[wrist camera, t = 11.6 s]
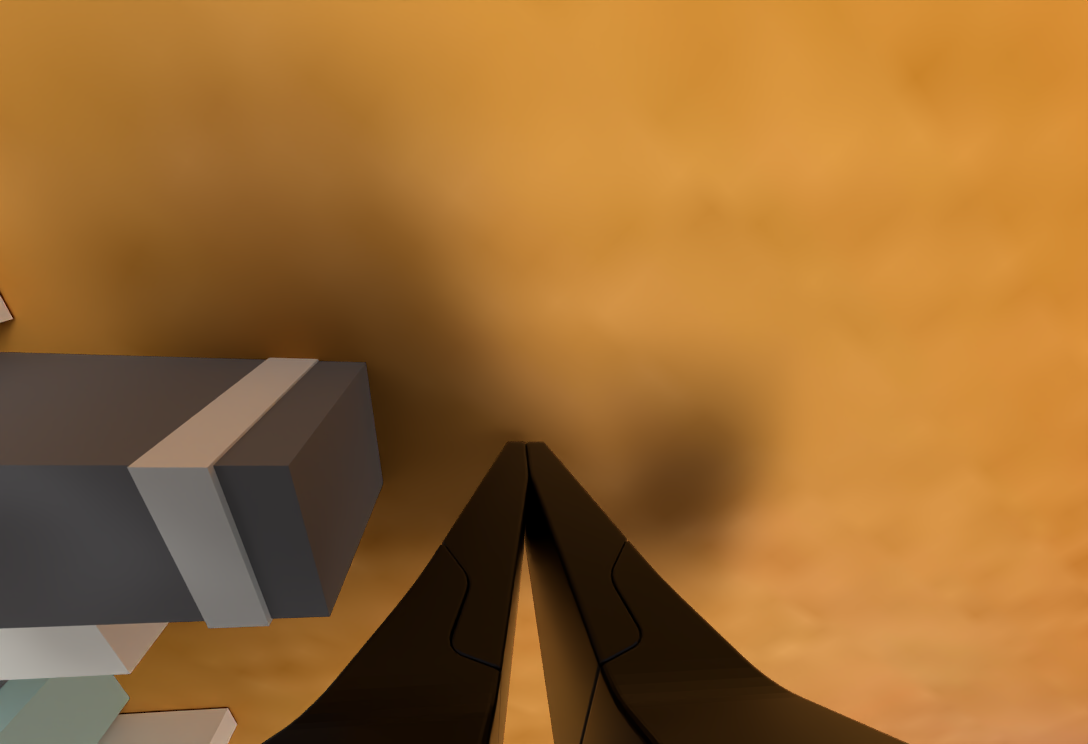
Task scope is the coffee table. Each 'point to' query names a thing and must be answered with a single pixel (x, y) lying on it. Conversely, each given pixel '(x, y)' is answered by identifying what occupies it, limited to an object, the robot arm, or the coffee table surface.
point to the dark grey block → (180, 487)
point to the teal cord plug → (59, 709)
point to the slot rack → (107, 671)
